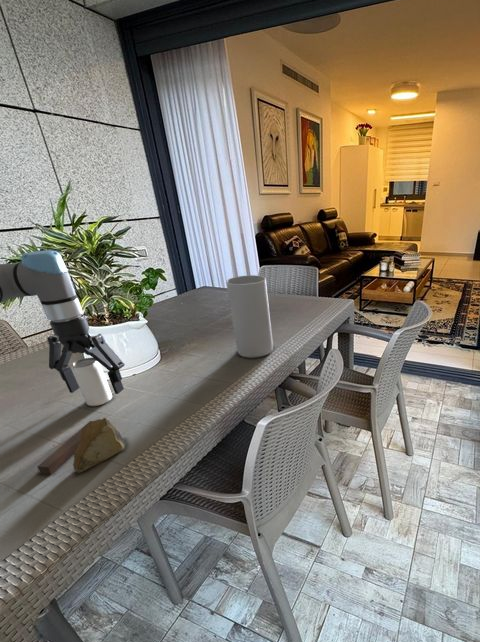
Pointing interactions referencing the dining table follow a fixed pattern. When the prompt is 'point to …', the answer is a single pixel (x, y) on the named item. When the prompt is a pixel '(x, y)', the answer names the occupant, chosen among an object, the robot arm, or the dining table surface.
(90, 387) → the can
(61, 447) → the walnut stick
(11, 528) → the dining table surface
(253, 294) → the cylinder vase
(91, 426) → the rock
